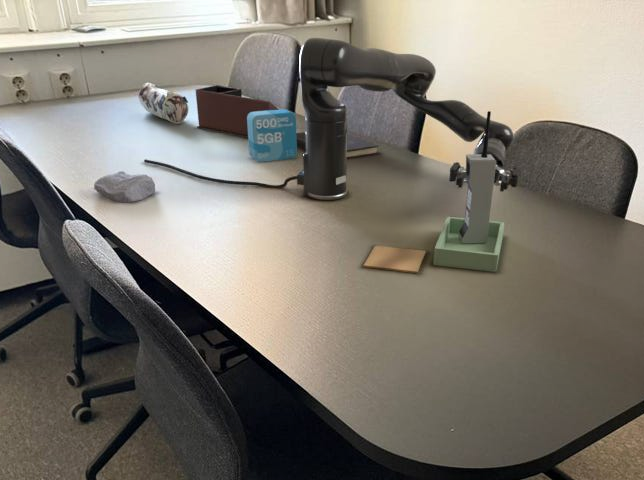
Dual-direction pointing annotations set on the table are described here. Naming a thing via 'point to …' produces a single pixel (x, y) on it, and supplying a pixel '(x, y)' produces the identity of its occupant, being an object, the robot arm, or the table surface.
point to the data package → (272, 135)
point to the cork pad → (395, 259)
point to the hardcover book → (354, 146)
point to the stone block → (125, 186)
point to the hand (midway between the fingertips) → (481, 184)
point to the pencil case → (163, 103)
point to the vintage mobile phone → (478, 194)
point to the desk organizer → (227, 109)
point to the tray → (468, 247)
